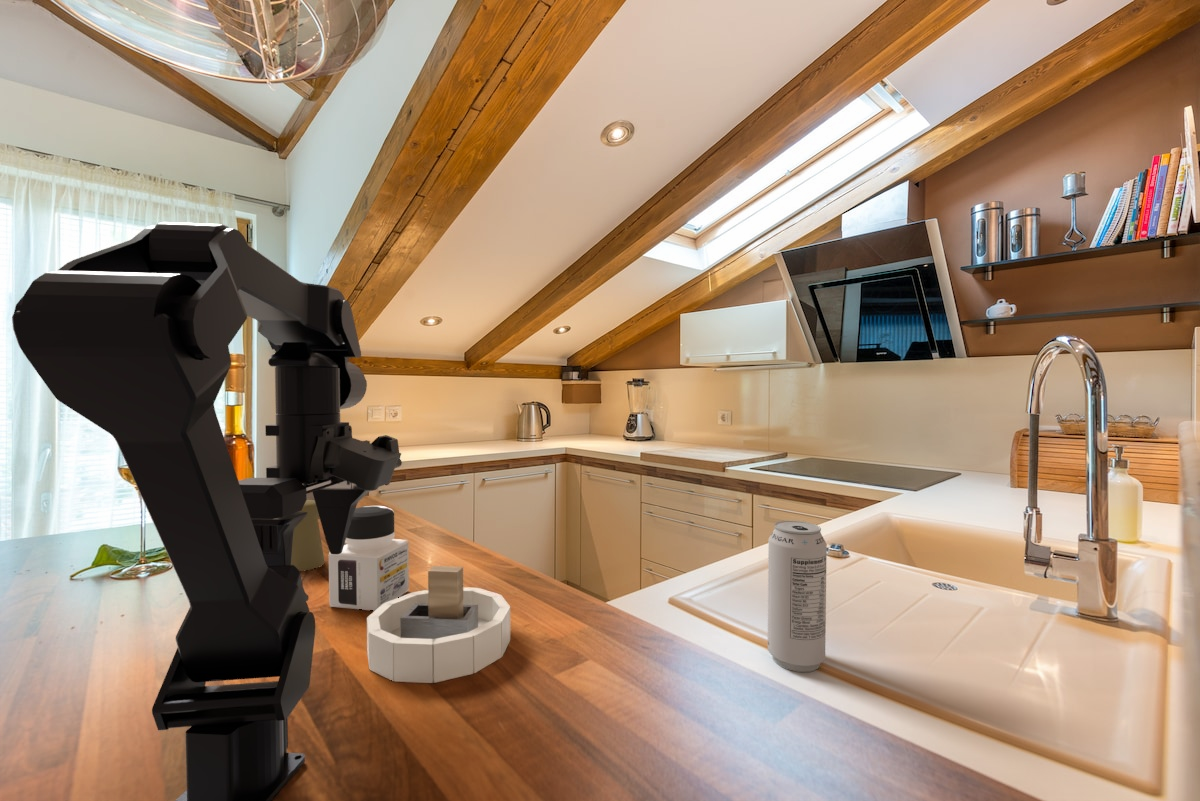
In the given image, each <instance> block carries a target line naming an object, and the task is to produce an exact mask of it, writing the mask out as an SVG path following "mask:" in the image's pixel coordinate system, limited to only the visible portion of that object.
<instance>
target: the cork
mask: <svg viewBox="0 0 1200 801" xmlns="http://www.w3.org/2000/svg"><path fill="white" fill-rule="evenodd" d="M299 512H308V513H307V515H306V516H305V517H304V518H303V519H302V521H301V522H300V523H299V524H298V525H297V526H296V527H295V528H294V531H293V543H292V556H291V565H294V566H295V567H296V568H297V569H298V570H299V571H301V572H304V571H303V570H308V571H311V570H310V569H313V568H316V569H318V568H317V567H319V566H321V565H323V564H324V563H325V564H326V561H325V557H324V556H325V555H324V549H323V543H322V538H321V537H322V536H321V531H320V525H319V519H320V517H319V514H318V510H317V507H316V503H315V499H307V500H306V502H305V504H304V506H303V508H302V510H301V511H299ZM325 564H324V565H325ZM324 565H323V566H324ZM321 567H322V566H321ZM319 568H320V567H319ZM313 570H314V569H313Z"/></svg>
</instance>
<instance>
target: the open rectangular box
mask: <svg viewBox="0 0 1200 801" xmlns="http://www.w3.org/2000/svg"><path fill="white" fill-rule="evenodd" d="M400 622H401V638H421V639H436V638H441V637H446V636H451V635H457V634H462V633H467V632H470V631H472V630H474V629H476V628H478V605H463V618H461V617H428V603H415V604H414V605H413V606H412V607H411V608H410V609H409V610H408V611H407V612H406V613H405V614H404V615H403V616H402V617H401V618H400Z"/></svg>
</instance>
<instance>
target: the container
mask: <svg viewBox="0 0 1200 801" xmlns="http://www.w3.org/2000/svg"><path fill="white" fill-rule="evenodd" d="M409 551H410V550H409V540H408V539H400V538H395V511H394V510H393V509H392V508H390V507H387V506H383V505H369V506H368V505H367V506H360V507H359V506H358V507H356V508H355V511H354V514H353V517H352V520H351V524H350V527H349V530H348V533H347V537H346V540H345V543H344V547H343V550H342V552H341V553H340V554H331V553H330V551H329V553H328V591H329V592H328V597H329V598H328V599H329V603H328V604H329V607H331V608H340V609H350V610H359V609H362V610H363V611H370V610H373V611H372V612H374V611H375V610H376V609H377V608H379V607H380V606H381V605H382V604H383V603H385V602H388V601H391V600H393V599H396V598H398V597H401V596H404V595H405V594H406V593H407V592H409V590H410V569H409V565H410V564H409V559H410V556H409V554H410V552H409ZM362 610H361V611H362Z"/></svg>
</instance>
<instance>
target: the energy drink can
mask: <svg viewBox="0 0 1200 801" xmlns="http://www.w3.org/2000/svg"><path fill="white" fill-rule="evenodd" d="M821 531H822V528H821V527H820V526H819V525H817V524H815V523H812V522H806V521H800V520H783V521H777V522H775V523H774V529H773V530H772V533H771V534H770V536H769V537H768V549H767V550H768V554H767V555H768V558H767V559H768V560H767V561H768V564H767V565H768V566H767V569H768V571H767V577H768V578H767V651H768V653H769V654H770V655H771V656H772V657H771V658H772V660H773V661H774V663H775V664H776V665H778V666H780V667H781V668H783V669H786V670H790V671H792V672H796V673H797V672H799V673H809V672H815V671H816V670H817V669H818V668H820V666H821V664H822V662H824V661H825V659H826V636H827V635H826V631H827V630H826V624H827V622H826V621H827V612H826V611H827V610H826V609H827V549H828V548H827V545H828V544H827V542H826V540H825V538H824V536H823V535H822V533H821Z"/></svg>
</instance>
